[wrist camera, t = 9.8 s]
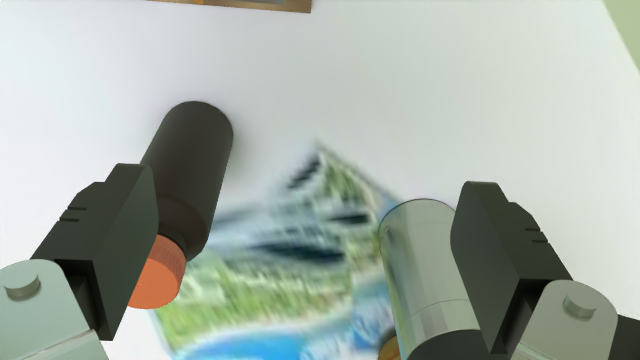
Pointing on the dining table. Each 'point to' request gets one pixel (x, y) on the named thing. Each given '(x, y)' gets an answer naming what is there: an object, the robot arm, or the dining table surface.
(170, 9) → the dining table surface
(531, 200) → the dining table surface
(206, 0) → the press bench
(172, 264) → the bottle
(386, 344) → the onion
